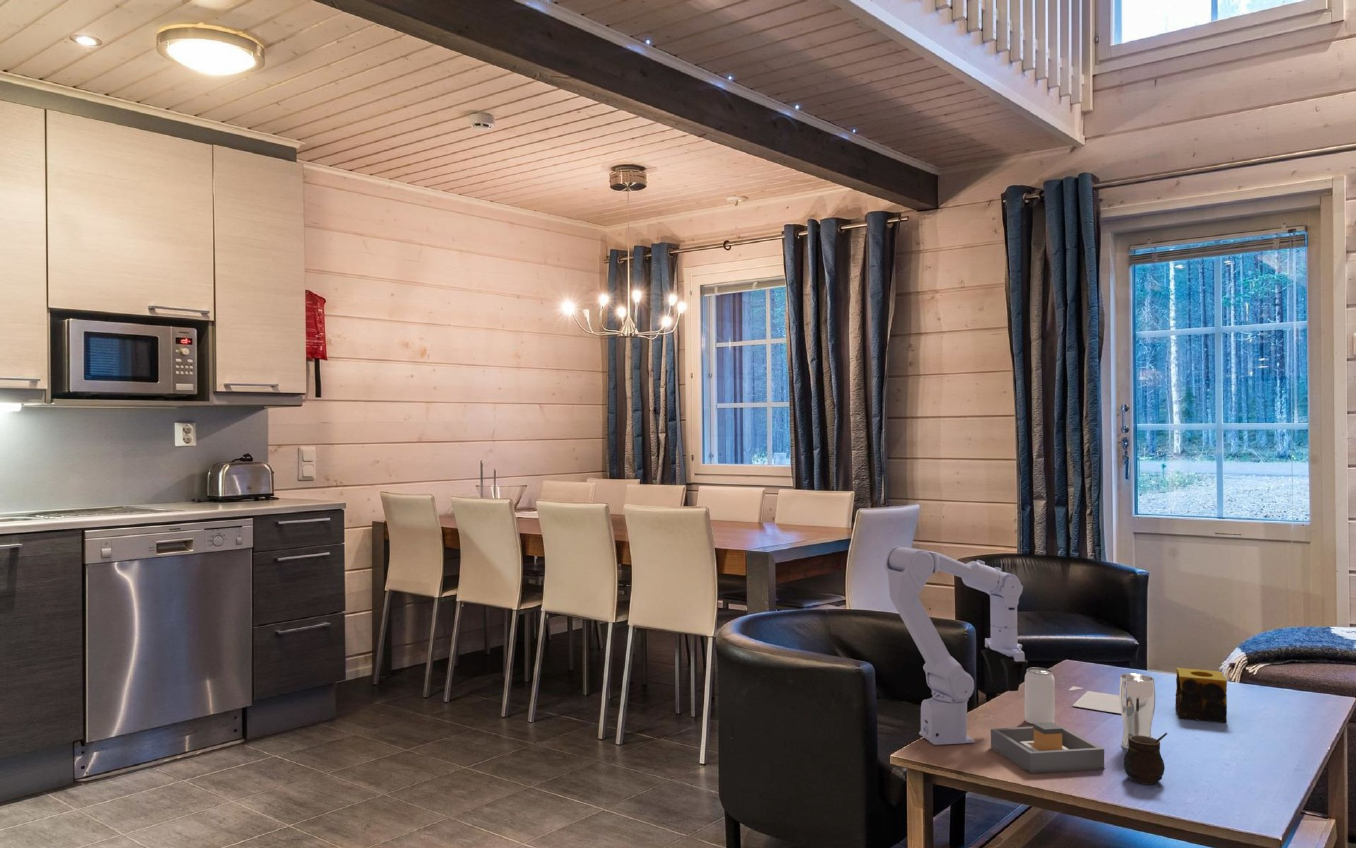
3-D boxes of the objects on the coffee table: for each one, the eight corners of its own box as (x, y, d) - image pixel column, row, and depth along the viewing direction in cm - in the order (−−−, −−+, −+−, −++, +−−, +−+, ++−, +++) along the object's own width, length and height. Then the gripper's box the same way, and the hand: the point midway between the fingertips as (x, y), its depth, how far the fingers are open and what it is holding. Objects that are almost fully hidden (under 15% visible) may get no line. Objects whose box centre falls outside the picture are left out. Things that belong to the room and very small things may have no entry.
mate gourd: (1122, 772, 192) (1122, 721, 193) (1164, 777, 190) (1165, 726, 190) (1123, 784, 186) (1124, 731, 186) (1167, 790, 183) (1168, 737, 183)
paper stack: (1032, 702, 243) (1032, 699, 243) (1057, 681, 263) (1057, 678, 263) (1133, 718, 229) (1133, 715, 229) (1152, 695, 250) (1152, 692, 250)
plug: (1044, 759, 198) (1044, 729, 198) (1033, 752, 202) (1033, 723, 202) (1062, 757, 199) (1062, 728, 199) (1051, 751, 203) (1051, 722, 203)
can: (1056, 727, 221) (1056, 674, 221) (1026, 725, 223) (1026, 673, 223) (1051, 719, 228) (1051, 668, 228) (1022, 717, 229) (1022, 666, 229)
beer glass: (1152, 744, 209) (1152, 674, 210) (1157, 754, 203) (1157, 682, 203) (1117, 741, 212) (1117, 672, 212) (1121, 750, 205) (1120, 679, 205)
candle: (1178, 719, 228) (1178, 676, 228) (1174, 707, 238) (1174, 666, 238) (1227, 724, 224) (1227, 680, 225) (1221, 712, 234) (1221, 670, 234)
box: (1030, 773, 191) (1030, 753, 191) (990, 747, 207) (990, 729, 207) (1104, 769, 194) (1104, 749, 194) (1059, 743, 210) (1059, 725, 210)
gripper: (1037, 631, 211) (1038, 693, 211) (1004, 618, 226) (1005, 677, 226) (1006, 633, 210) (1007, 695, 210) (976, 619, 225) (977, 678, 225)
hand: (1004, 686), depth 218 cm, fingers open, 7 cm apart
